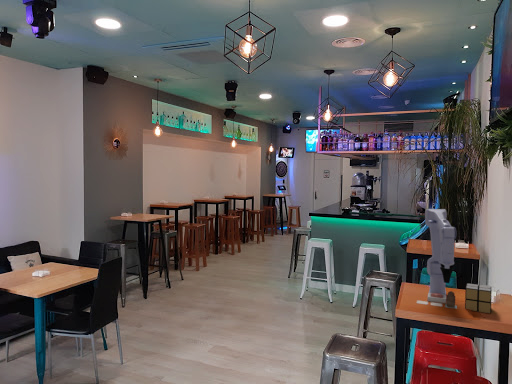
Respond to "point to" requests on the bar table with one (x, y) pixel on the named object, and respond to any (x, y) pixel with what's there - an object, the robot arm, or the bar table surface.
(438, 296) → the button
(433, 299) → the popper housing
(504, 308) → the bar table surface
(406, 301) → the bar table surface
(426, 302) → the board
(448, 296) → the pawn
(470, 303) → the puzzle cube
